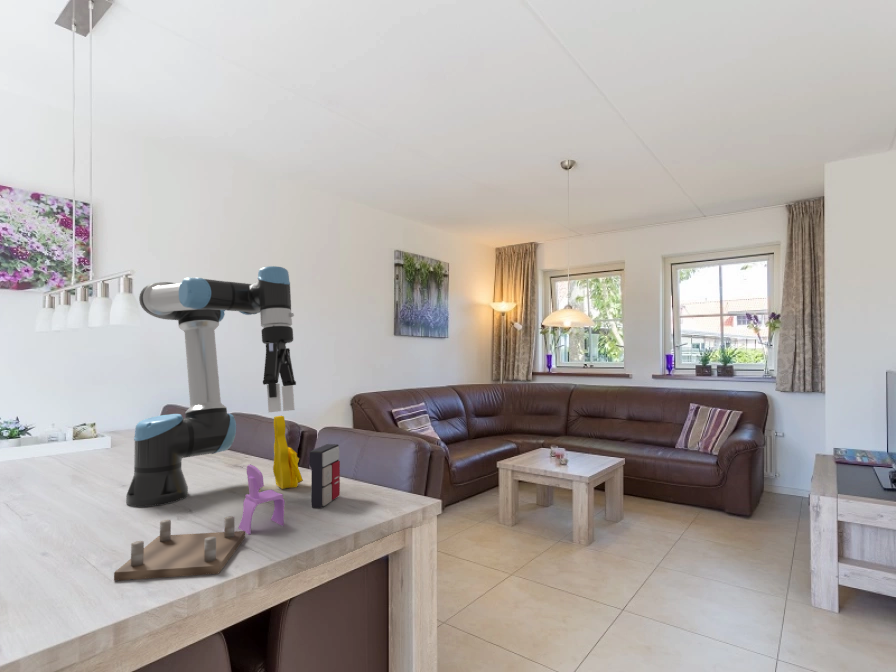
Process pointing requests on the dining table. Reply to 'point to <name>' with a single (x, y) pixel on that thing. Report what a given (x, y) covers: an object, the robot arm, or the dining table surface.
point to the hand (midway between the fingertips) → (282, 411)
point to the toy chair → (259, 500)
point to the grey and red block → (325, 475)
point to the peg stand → (181, 553)
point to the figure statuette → (284, 458)
